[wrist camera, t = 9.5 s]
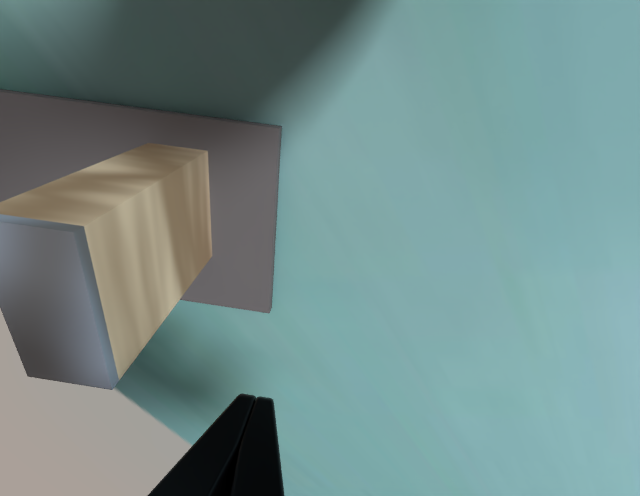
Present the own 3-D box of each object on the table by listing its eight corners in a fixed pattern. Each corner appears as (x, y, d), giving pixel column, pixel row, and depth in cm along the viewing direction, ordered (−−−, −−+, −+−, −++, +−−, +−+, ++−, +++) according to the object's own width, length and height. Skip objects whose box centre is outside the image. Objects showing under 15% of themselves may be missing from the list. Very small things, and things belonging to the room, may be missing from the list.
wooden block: (207, 150, 18) (73, 232, 9) (212, 256, 20) (112, 389, 12) (148, 142, 18) (-36, 216, 9) (161, 248, 21) (27, 376, 12)
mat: (281, 126, 17) (279, 128, 17) (271, 307, 23) (269, 313, 22) (-34, 84, 18) (-47, 85, 17) (27, 270, 23) (19, 275, 23)
